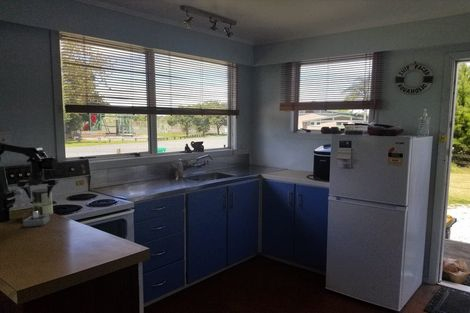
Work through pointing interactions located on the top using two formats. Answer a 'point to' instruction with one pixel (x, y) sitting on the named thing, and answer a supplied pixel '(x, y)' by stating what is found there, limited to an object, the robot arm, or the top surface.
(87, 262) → the top surface
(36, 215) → the pin
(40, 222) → the pin tray
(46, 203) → the coffee can
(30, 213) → the block
